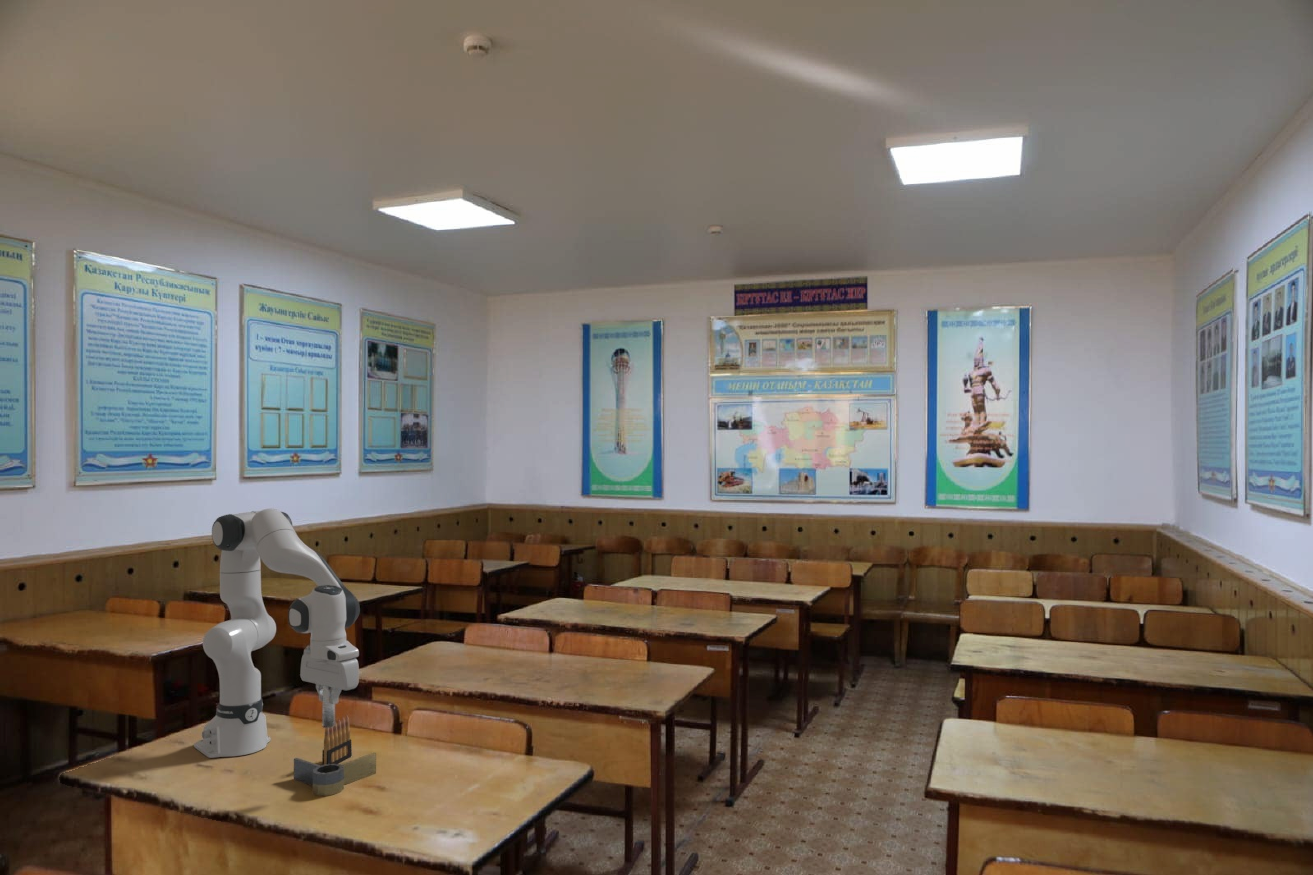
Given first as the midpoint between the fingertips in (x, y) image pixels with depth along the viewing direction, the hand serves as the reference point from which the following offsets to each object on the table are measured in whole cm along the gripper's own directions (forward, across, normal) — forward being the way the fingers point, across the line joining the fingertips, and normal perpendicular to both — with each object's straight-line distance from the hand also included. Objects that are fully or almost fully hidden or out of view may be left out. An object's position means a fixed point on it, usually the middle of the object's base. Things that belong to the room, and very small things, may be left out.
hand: (328, 702), depth 223 cm
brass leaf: (+23, 0, +5) cm, 23 cm away
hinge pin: (+6, 0, 0) cm, 6 cm away
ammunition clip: (+23, -16, +14) cm, 31 cm away
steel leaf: (+23, -6, 0) cm, 23 cm away
